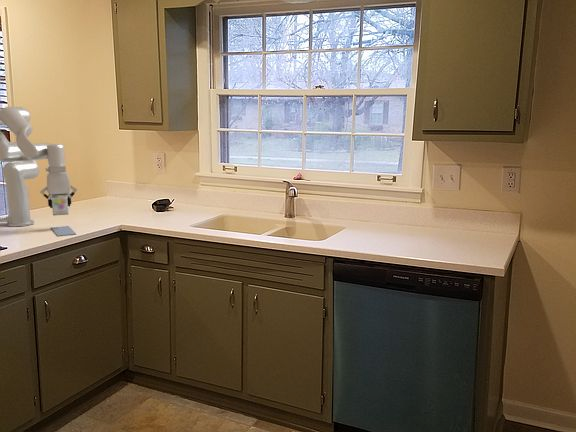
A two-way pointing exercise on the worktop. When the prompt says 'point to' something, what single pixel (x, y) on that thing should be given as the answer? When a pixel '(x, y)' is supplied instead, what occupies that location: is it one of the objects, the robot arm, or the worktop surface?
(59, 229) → the rubber mat
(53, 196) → the ink box
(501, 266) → the worktop surface
